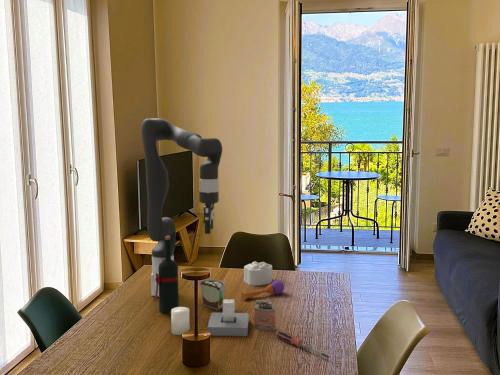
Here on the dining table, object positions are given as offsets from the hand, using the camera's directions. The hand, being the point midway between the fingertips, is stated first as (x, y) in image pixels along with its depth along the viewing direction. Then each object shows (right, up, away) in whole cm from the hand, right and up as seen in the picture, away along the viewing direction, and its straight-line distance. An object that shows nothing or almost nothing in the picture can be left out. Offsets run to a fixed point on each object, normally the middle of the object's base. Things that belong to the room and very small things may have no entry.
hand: (208, 231), depth 209 cm
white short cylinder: (-9, -34, -17) cm, 40 cm away
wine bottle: (-17, -32, +3) cm, 36 cm away
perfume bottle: (+21, -34, -13) cm, 42 cm away
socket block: (+8, -34, -14) cm, 38 cm away
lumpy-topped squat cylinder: (+20, -27, +41) cm, 53 cm away
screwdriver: (+33, -37, -31) cm, 58 cm away
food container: (+2, -31, +9) cm, 33 cm away
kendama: (+22, -30, +21) cm, 42 cm away
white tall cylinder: (+8, -34, -14) cm, 38 cm away
